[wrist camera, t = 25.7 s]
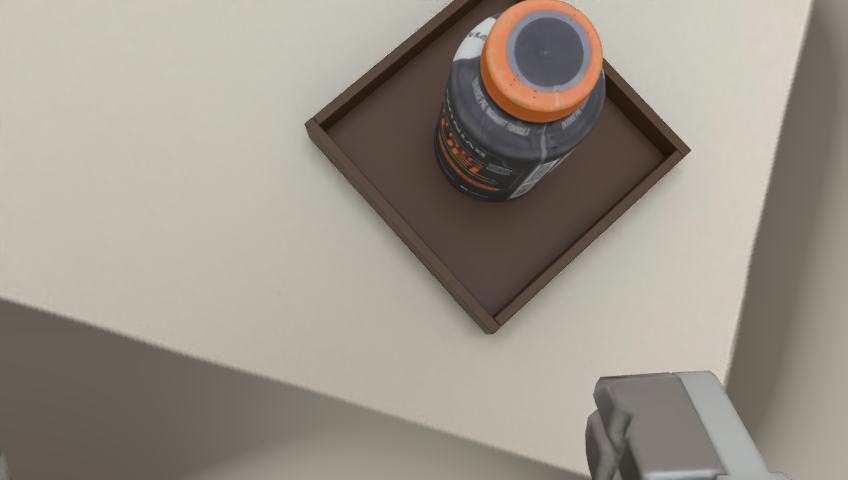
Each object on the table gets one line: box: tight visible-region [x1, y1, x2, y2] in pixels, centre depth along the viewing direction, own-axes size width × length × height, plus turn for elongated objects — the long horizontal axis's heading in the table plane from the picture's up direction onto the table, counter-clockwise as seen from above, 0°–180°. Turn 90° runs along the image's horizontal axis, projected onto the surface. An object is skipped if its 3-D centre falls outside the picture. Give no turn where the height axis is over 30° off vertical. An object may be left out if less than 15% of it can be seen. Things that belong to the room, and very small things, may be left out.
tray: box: [305, 0, 691, 334], centre depth 34 cm, size 13×13×2 cm
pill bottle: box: [434, 0, 605, 202], centre depth 29 cm, size 6×6×11 cm
